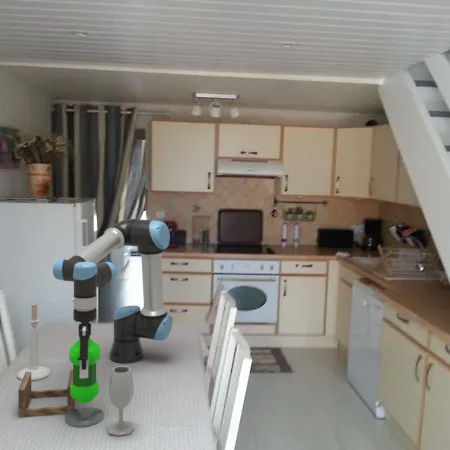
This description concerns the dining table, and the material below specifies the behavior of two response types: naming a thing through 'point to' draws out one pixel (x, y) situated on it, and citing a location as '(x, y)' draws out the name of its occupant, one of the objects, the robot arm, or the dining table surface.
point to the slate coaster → (84, 417)
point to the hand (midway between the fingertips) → (84, 370)
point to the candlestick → (34, 353)
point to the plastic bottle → (88, 387)
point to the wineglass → (121, 398)
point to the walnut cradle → (27, 394)
